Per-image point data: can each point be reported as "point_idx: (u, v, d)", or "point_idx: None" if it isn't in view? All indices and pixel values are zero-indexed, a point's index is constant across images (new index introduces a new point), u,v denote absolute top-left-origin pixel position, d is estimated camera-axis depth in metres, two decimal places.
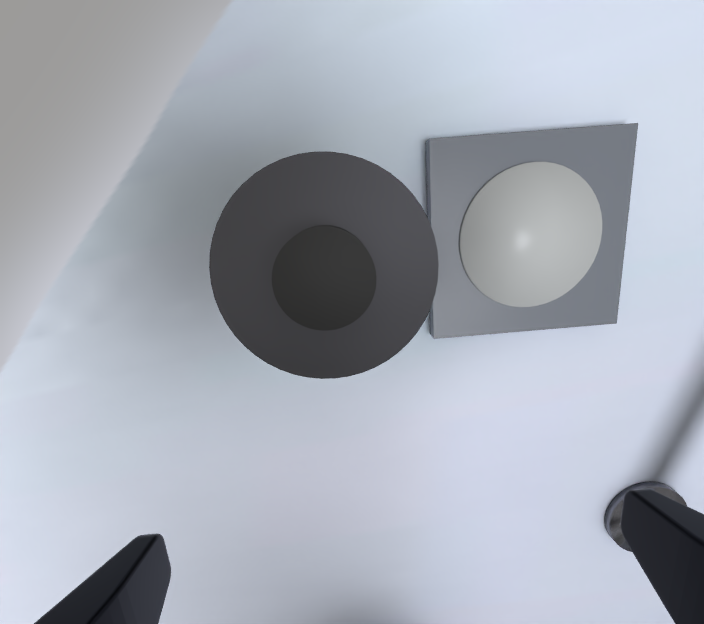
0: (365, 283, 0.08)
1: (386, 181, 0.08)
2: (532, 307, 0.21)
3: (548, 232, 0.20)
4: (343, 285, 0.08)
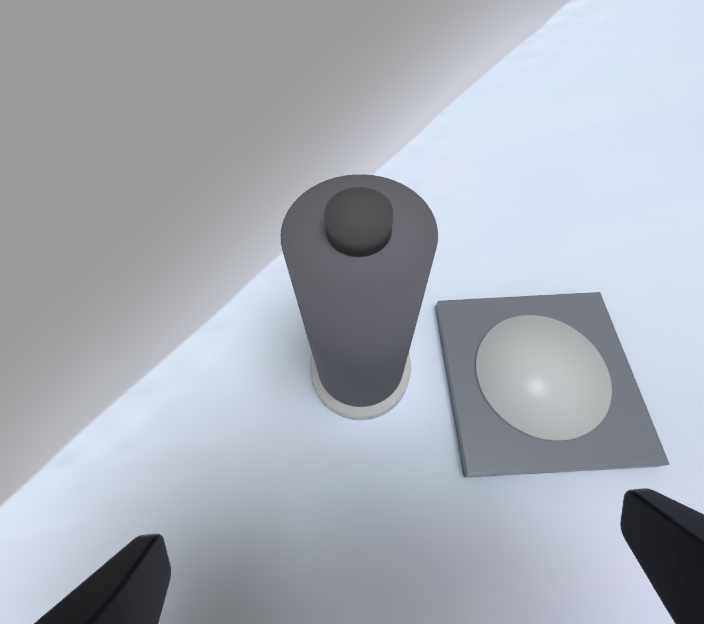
0: (386, 214, 0.11)
1: (397, 186, 0.13)
2: (567, 442, 0.20)
3: (557, 368, 0.22)
4: (371, 214, 0.11)
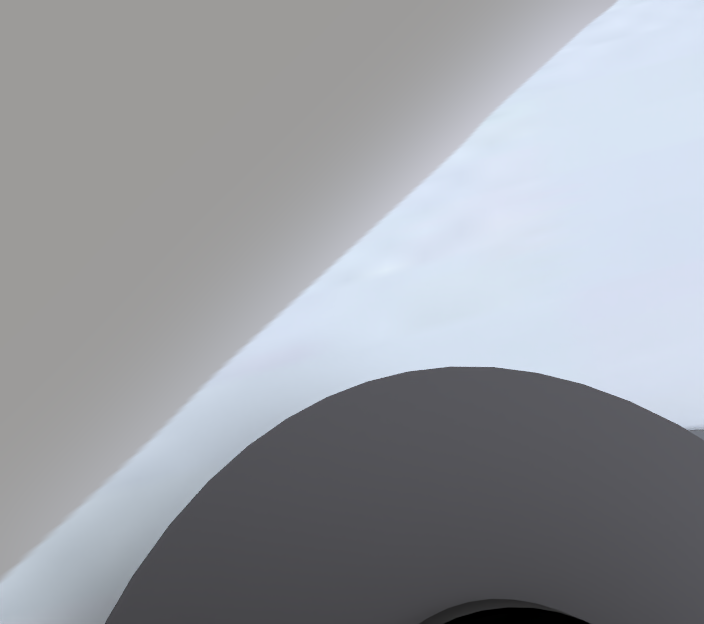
0: None
1: (677, 448, 0.03)
2: None
3: None
4: None
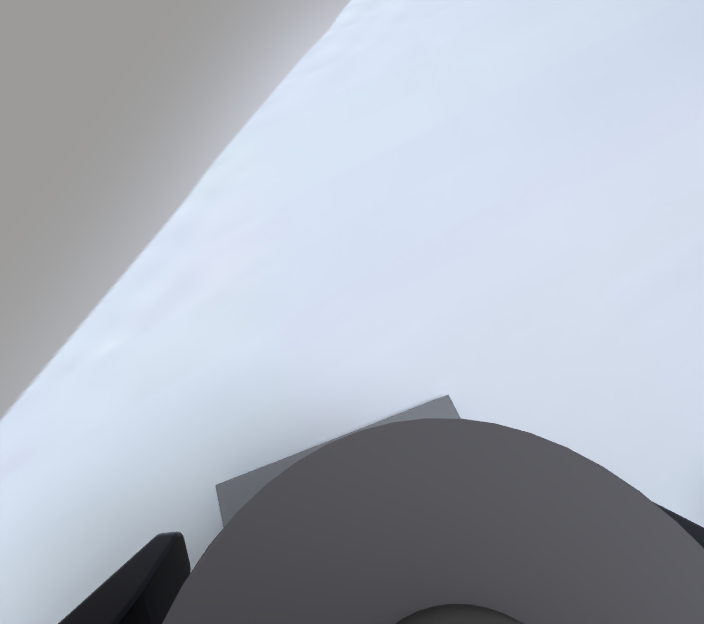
0: None
1: (600, 486, 0.03)
2: None
3: None
4: None
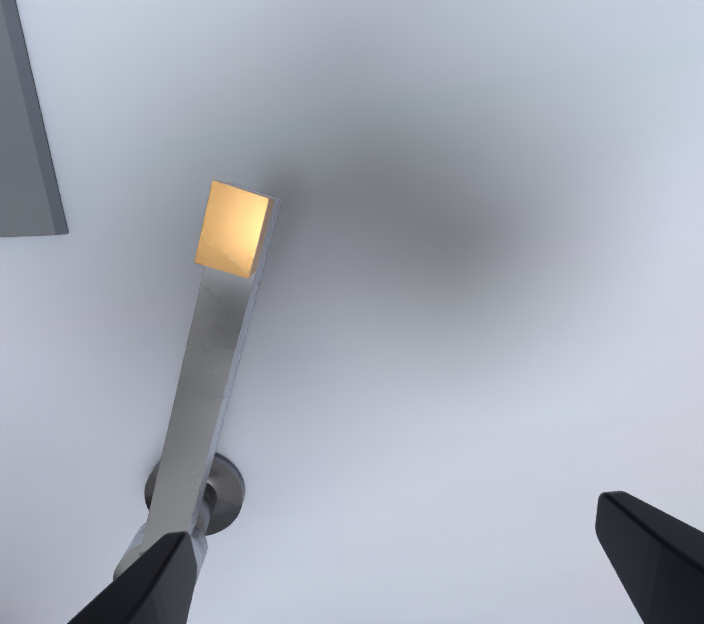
0: None
1: None
2: None
3: None
4: None
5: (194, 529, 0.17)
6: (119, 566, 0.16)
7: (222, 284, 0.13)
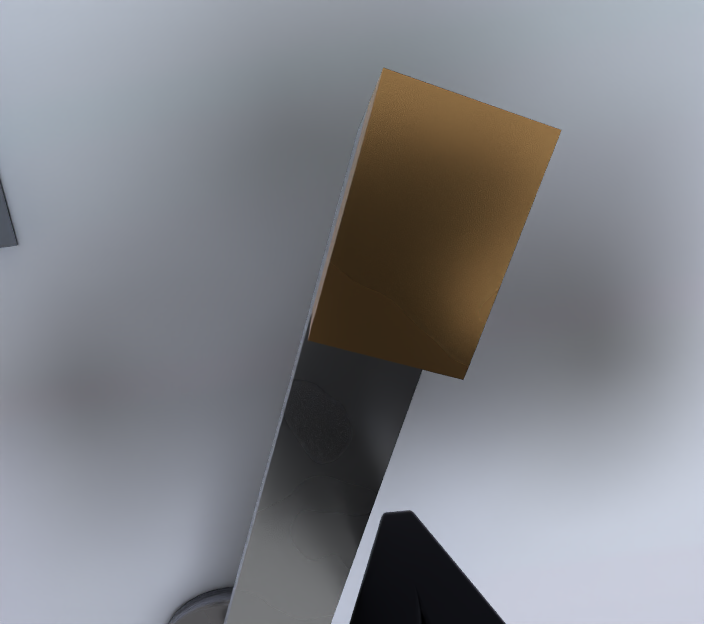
0: None
1: None
2: None
3: None
4: None
5: None
6: None
7: (348, 373, 0.05)
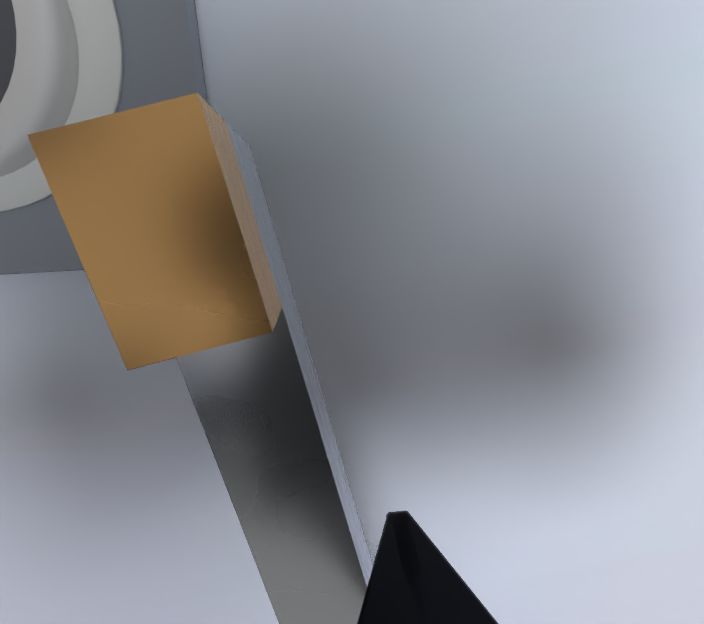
0: None
1: None
2: (2, 217, 0.09)
3: None
4: None
5: None
6: None
7: (232, 372, 0.06)
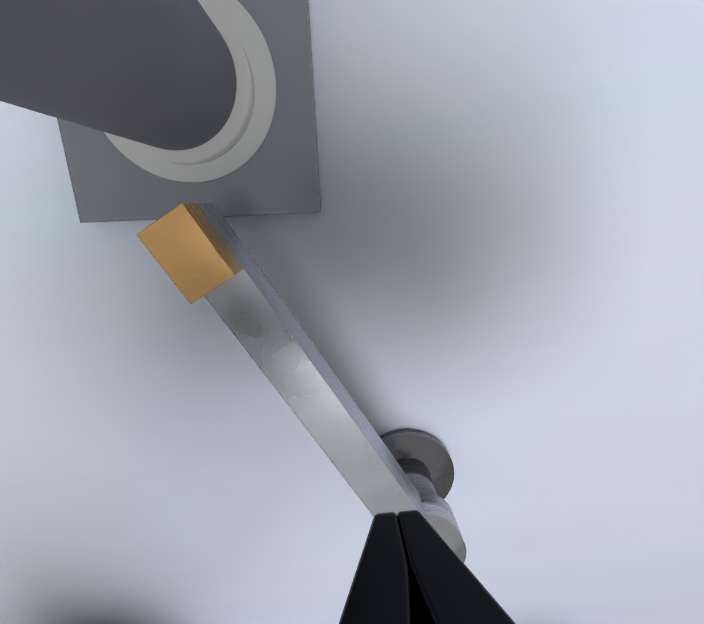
0: None
1: None
2: (204, 184, 0.16)
3: None
4: None
5: (420, 495, 0.17)
6: None
7: (233, 302, 0.13)
